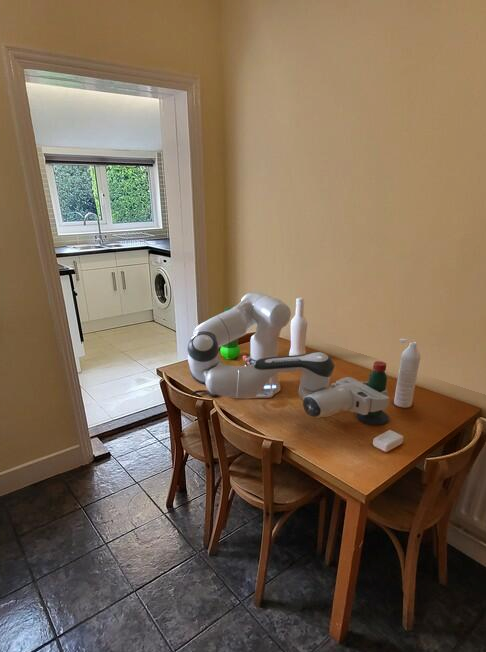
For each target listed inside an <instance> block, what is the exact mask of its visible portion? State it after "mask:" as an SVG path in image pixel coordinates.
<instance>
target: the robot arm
mask: <svg viewBox="0 0 486 652" xmlns="http://www.w3.org/2000/svg"><path fill="white" fill-rule="evenodd" d="M291 317H292V312H291V309H290V306H289V305H288V304H286V303H285V302H284V301H282V300H281V299H279V298H277V297H274V296H270V295H267V294H265V293H263V292H256V291H255V292H254V291H253V292H248V293H246V294H244V295H243V297H242V298H241V301H240V302H239V303H237V304H236V305H235V306H233V307H232V309H230V310H228V311H225V310H224V311H223V312H221V313H219V314H217V315H215V316H213V317H211V318H209V319H206V320H205V321H204V322H202V323H200V324H199V325H198V326H196V327H195V328H194V329H193V333H192V337H191V338H190V340H189V342H188V345H187V363H188V366H189V373H190V376H191V378H192V379H193V380H194V381H195V382H196V383H198V384H201V385H204V386H205V387H206V389H198V390H194V391H193V392H191V393H189V395H192V396H194V395H195V394H198V393H206V394H207V395H208V396H209V397H211V398H216V397H218V396H220V397H226V398H231V399H243V400H244V399H246V400H247V399H270V398H273V396H274V395H275V394H277V393H279V392H280V391H281V389H282V388H281V384H280V378H279V373H285V372H286V373H288V372H299V371H300V372H301V376H300V380H299V383H298V384H299V386H298V391H297V394H298V397H299V398H300V400H301V401H302V407H303V410H304V412H305V413H306V414H307V415H308V416H309V417H311V418H327V417H330V416H334V415H336V414H338V413H340V412H343V413H344V412H347V411H348V412H351V413H356V414H357V413H359V414H362V415H367V414H368V412H376V411H380V410H382V411H383V410H385V409H387V408H388V407H389V405H390V397H389V396H388V394H389V391H388V390H387V389H383V390H381V392H378V391H376V390H374V389H372V388H370V387H369V386H368V381H359V380H357V379H355V378H353V377H351V376H345V377H342V378H340V379H338V380H336V382H332V383H331V384H330V380H331V376H332V375H333V372H334V369H335V363H334V361H333V359H332V358H331V356H329V355H328V354H327V353H325V352H323V351H313V352H308V353H306V354H303V355H292V356H289V355H282V356H281V355H280V356H279V355H278V354H279V340H280V339H279V338H280V335H281V333H282V330H283V328H285V327H286V326H287V325H288V324H289V322H290V320H291ZM254 325H256V330H255V333H254V334H252V336H251V337H250V343H249V344H250V345H249V347H250V348H249V349H250V351H249V353H250V355H249V356H247V355H243V356H242V360H243V361H244V362H245V365H227V364H224V363H222V362H221V361H220V360H221V358H220V348H221V346H223V345H225V344H227V343H230V342H232V341H234V340H236V339H238V340H239V339H241V338H242V337H244V336H246V335H247V333H248V331H249V328H251V327H252V326H254ZM329 385H330V386H329Z"/></svg>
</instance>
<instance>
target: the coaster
mask: <svg viewBox="0 0 486 652" xmlns="http://www.w3.org/2000/svg"><path fill="white" fill-rule="evenodd" d="M356 418H357V420H358V421H360V422H361V423H363V424H366V425H370V426H383V425H385V424H387V423H388V422H389V415H388V414H386V413H385V412H384V411H382V414H381V415H380V416H370V415H362V414H359V413H356Z"/></svg>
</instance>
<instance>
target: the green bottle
mask: <svg viewBox="0 0 486 652" xmlns="http://www.w3.org/2000/svg"><path fill="white" fill-rule="evenodd" d="M367 382H368V386H369V387H370V388H372V389H374V390H376V391H378V392H381V390H383V389H385V390H387V389H386V388H387V382H388V375H387V373H386V371H384V372H377V371H375V370H373V369H372V371H371V372H370V373H369V376H368V381H367ZM382 412H383V410H380V411H376V412H368V414H367V415H370V416H380V415H381V414H382Z"/></svg>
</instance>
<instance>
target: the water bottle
mask: <svg viewBox="0 0 486 652" xmlns="http://www.w3.org/2000/svg"><path fill="white" fill-rule="evenodd" d="M399 342H400V343H403V344H406V343H408V339H407V338H404V337H402V338H399ZM417 346H418V345H417V342H415V341H410V342H409V344H408V347H406V348H405V349H404V350H403V352H401V356H400V362H399V368H398V374H397V378H396V379H397V381H396V386H395V393H394V398H393V404H394V405H395V406H397V407H399V408H403V409H404V408H405V409H407V408H411V407H412V405H413V399H414V394H415V389H416V384H417V378H418V372H419V366H420V361H421V353H420V351H419V349H418V347H417Z"/></svg>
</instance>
